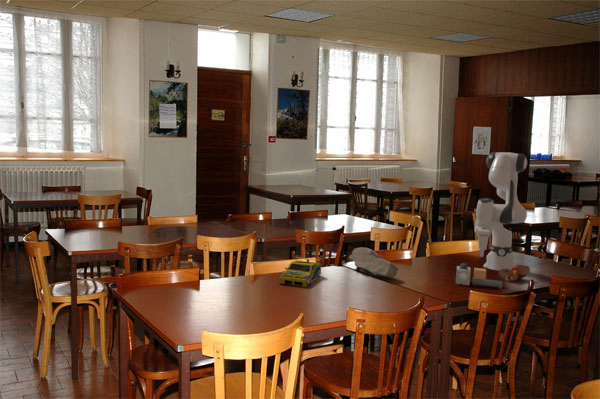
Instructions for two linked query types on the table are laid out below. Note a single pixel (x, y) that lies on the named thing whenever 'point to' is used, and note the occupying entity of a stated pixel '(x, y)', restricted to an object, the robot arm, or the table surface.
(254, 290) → the table surface
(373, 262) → the stone block
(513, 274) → the figurine
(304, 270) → the toy car
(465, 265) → the plunger
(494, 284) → the rail
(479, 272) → the carriage
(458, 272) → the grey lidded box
